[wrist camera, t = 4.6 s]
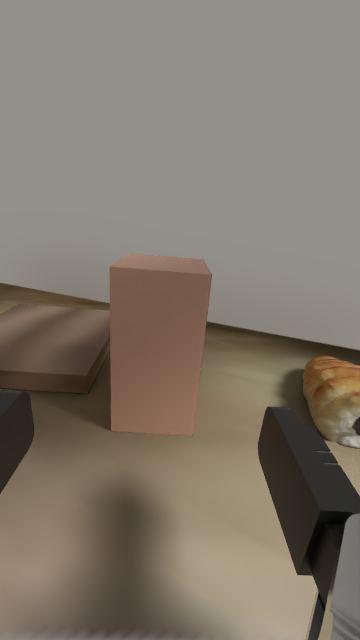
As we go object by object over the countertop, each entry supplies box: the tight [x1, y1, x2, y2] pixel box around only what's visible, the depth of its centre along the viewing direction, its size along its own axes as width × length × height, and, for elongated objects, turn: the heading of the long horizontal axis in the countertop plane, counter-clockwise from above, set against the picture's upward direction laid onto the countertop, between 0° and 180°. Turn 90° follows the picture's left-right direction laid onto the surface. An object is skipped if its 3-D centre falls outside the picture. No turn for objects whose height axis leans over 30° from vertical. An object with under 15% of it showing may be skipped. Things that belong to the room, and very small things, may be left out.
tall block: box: [110, 254, 212, 436], centre depth 18 cm, size 5×5×10 cm
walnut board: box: [0, 304, 110, 394], centre depth 26 cm, size 12×14×2 cm
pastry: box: [303, 356, 360, 448], centre depth 21 cm, size 9×7×4 cm
